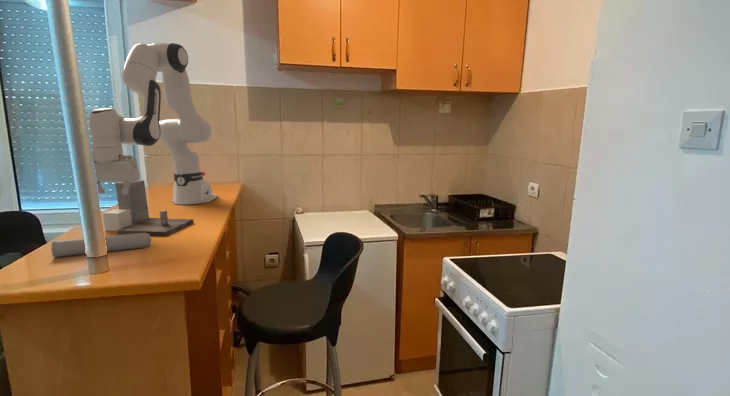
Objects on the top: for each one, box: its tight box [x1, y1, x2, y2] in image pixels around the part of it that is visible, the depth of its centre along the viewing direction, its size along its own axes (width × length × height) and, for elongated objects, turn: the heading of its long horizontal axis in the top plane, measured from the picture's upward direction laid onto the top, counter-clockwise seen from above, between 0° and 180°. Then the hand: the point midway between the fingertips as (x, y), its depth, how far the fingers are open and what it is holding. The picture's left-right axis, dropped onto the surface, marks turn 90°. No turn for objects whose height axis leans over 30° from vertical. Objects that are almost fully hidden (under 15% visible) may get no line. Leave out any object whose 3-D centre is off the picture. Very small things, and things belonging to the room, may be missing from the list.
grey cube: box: [102, 208, 133, 232], centre depth 143 cm, size 6×6×6 cm
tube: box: [51, 233, 152, 259], centre depth 119 cm, size 5×5×25 cm
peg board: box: [116, 210, 194, 237], centre depth 143 cm, size 17×18×6 cm
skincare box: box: [114, 179, 150, 224], centre depth 153 cm, size 8×7×16 cm
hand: (113, 193), depth 140 cm, fingers open, 8 cm apart
